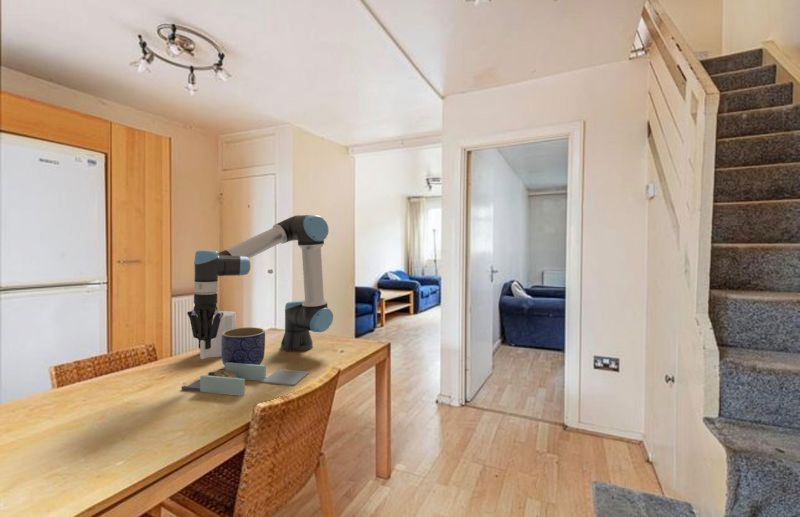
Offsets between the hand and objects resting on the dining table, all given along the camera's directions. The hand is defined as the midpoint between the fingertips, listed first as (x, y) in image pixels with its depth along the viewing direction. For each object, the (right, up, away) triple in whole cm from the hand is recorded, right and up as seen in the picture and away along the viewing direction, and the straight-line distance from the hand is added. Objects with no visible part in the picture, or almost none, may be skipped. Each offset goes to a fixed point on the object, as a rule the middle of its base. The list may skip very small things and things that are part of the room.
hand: (204, 357), depth 135 cm
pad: (+27, -10, +8) cm, 30 cm away
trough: (+8, -10, 0) cm, 13 cm away
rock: (+8, -10, -1) cm, 13 cm away
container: (-13, -8, +37) cm, 40 cm away
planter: (+7, -9, +18) cm, 21 cm away
